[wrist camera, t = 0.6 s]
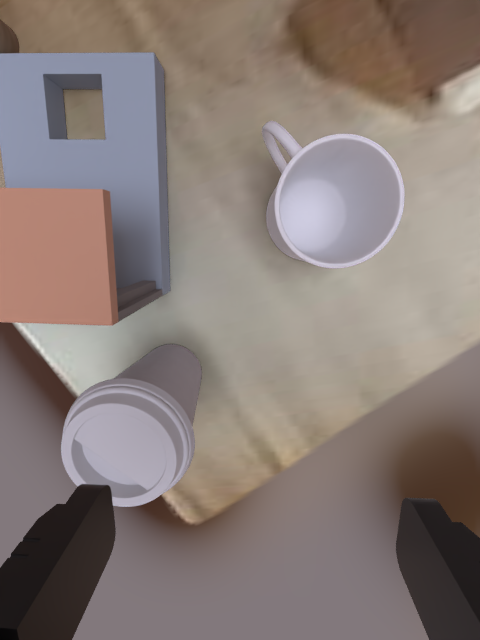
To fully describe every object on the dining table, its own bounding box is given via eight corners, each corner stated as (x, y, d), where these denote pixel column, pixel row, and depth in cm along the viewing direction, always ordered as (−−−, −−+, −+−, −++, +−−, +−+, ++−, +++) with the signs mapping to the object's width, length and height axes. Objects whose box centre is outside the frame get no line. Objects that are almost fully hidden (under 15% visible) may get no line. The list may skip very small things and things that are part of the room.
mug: (231, 171, 32) (216, 133, 21) (310, 116, 31) (342, 43, 19) (294, 277, 34) (312, 296, 23) (371, 230, 33) (432, 225, 21)
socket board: (13, 70, 31) (-187, -67, 17) (163, 70, 31) (84, -73, 17) (39, 287, 36) (-103, 318, 22) (170, 290, 35) (112, 325, 21)
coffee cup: (113, 355, 37) (20, 429, 23) (187, 314, 36) (139, 366, 21) (159, 425, 39) (100, 536, 24) (231, 389, 38) (215, 484, 23)
